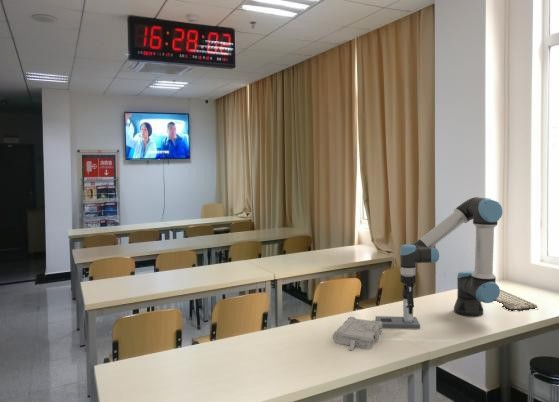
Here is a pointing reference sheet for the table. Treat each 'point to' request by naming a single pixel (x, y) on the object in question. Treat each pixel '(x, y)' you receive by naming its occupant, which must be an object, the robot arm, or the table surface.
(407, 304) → the plug
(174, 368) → the table surface
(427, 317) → the table surface
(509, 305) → the mechanical keyboard
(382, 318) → the jack panel
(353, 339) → the grey lumpy block
